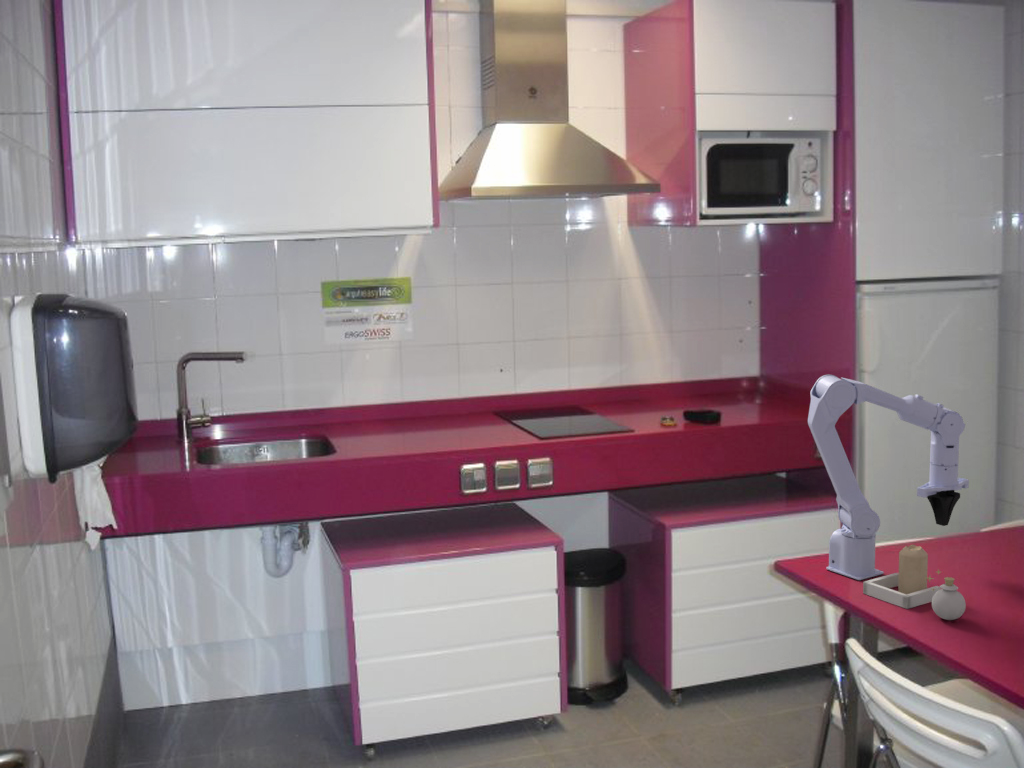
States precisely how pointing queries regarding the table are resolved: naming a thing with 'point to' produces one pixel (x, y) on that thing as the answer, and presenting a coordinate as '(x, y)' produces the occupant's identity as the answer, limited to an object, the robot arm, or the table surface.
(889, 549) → the table surface
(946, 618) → the round potion bottle
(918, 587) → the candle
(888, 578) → the box
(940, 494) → the robot arm
